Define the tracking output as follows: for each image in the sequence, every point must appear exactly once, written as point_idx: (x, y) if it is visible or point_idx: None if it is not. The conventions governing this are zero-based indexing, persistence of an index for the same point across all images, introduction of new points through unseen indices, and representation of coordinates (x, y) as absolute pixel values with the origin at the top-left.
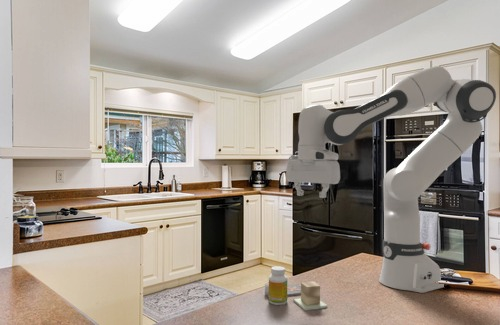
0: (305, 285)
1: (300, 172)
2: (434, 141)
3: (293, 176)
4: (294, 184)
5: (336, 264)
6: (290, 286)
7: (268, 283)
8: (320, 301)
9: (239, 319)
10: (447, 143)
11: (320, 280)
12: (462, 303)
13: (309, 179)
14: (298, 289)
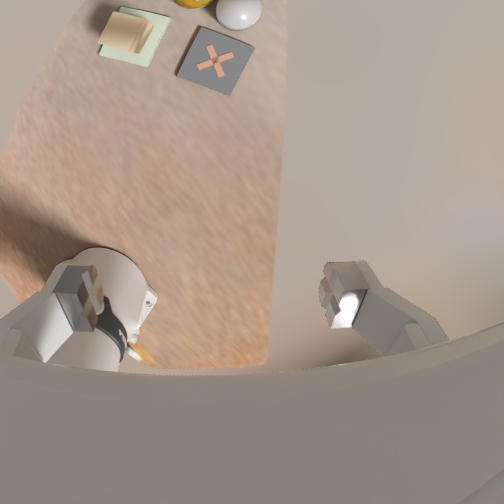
0: (123, 14)
1: (417, 493)
2: None
3: (493, 382)
4: (437, 323)
5: (265, 289)
6: (233, 70)
7: (254, 6)
8: (120, 56)
9: None
10: None
11: (218, 172)
12: (19, 266)
13: (165, 416)
14: (202, 66)
